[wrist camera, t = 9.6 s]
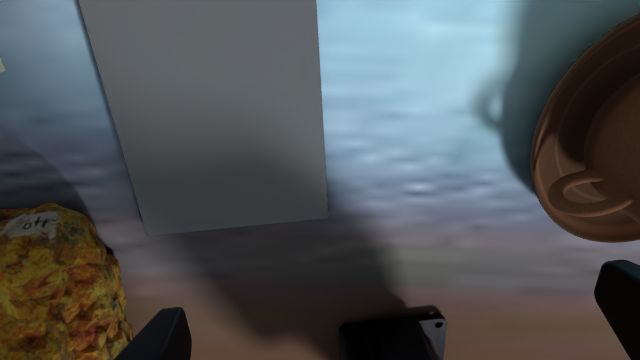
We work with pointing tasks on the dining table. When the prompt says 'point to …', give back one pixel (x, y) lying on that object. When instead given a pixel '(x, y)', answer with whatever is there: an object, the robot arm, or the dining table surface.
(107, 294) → the rock
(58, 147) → the dining table surface
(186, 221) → the grey rectangular panel
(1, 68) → the board
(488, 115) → the dining table surface
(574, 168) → the cup and saucer
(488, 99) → the dining table surface
